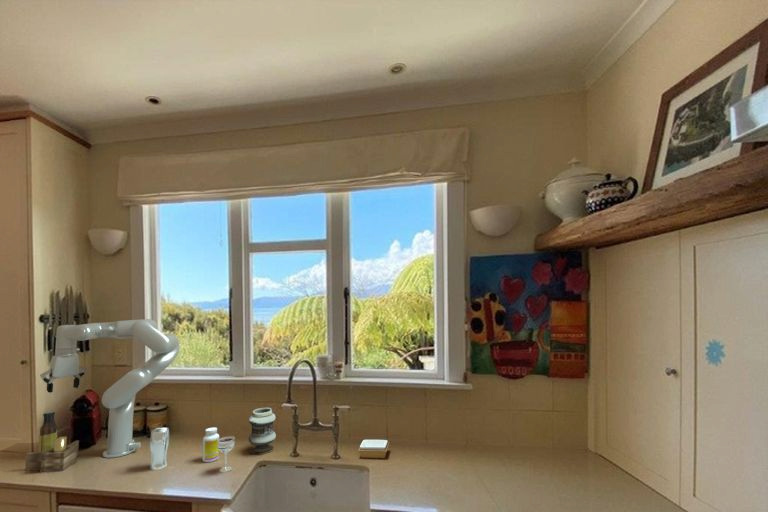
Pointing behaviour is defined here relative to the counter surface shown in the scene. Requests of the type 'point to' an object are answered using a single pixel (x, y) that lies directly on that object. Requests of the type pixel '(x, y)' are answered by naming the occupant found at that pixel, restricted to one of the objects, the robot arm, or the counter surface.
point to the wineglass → (226, 449)
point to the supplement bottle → (210, 445)
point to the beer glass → (159, 447)
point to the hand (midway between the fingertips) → (63, 389)
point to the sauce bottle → (47, 432)
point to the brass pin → (60, 444)
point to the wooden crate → (52, 459)
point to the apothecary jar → (262, 430)
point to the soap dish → (373, 448)
